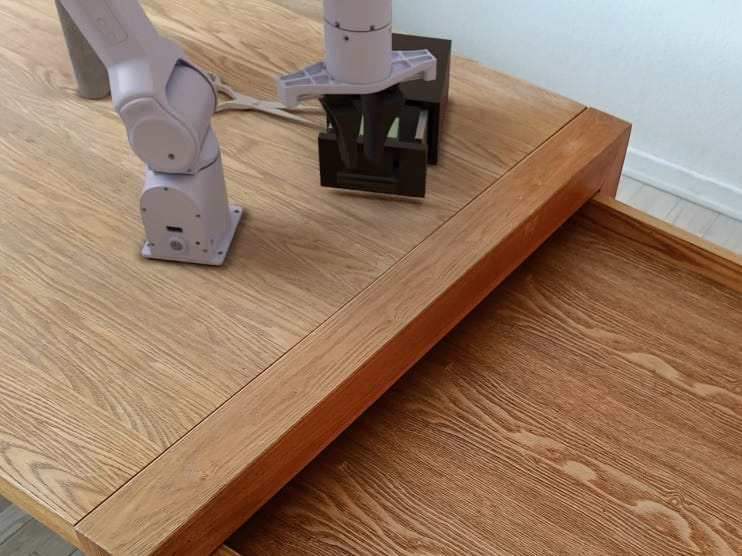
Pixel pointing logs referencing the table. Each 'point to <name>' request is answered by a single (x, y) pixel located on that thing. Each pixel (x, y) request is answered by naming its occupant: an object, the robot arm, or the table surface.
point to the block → (392, 133)
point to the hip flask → (83, 59)
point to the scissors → (253, 102)
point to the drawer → (382, 158)
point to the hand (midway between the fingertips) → (360, 161)
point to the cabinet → (426, 85)
